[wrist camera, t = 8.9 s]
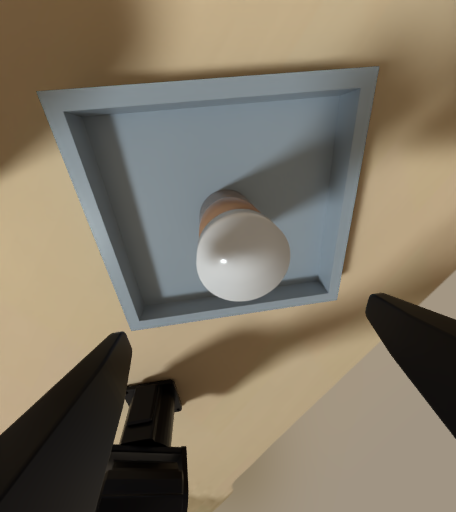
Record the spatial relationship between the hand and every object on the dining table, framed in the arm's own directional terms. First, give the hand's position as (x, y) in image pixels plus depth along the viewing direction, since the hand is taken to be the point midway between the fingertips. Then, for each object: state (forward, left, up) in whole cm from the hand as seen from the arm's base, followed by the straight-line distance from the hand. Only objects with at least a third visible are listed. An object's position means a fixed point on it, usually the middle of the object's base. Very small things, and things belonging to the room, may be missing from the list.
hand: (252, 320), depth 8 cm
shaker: (0, 0, -12) cm, 12 cm away
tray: (0, -1, -13) cm, 13 cm away
